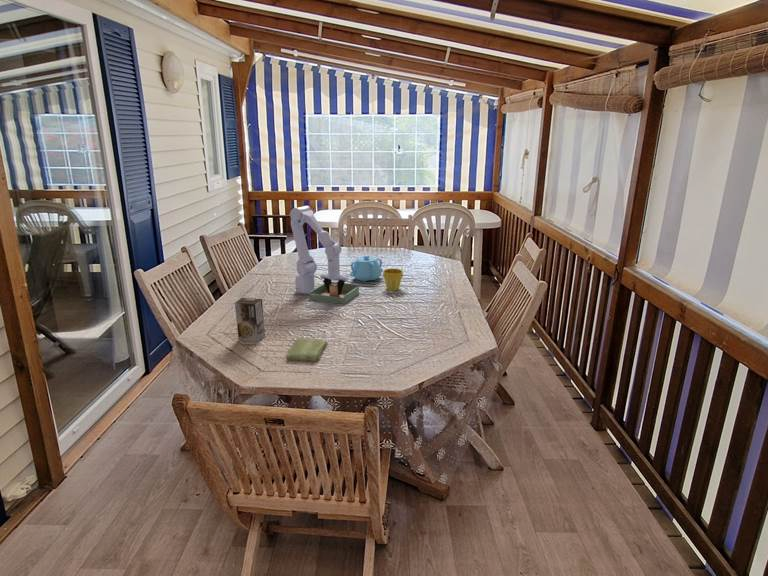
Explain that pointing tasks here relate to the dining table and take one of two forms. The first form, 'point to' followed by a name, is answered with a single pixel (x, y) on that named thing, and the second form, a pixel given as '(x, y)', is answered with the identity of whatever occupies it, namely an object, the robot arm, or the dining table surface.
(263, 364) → the dining table surface
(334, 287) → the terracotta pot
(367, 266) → the decorative pot
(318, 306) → the mat
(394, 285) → the plant pot
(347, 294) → the green shallow tray
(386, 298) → the dining table surface
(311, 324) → the dining table surface
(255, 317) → the coffee box
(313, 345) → the washcloth
